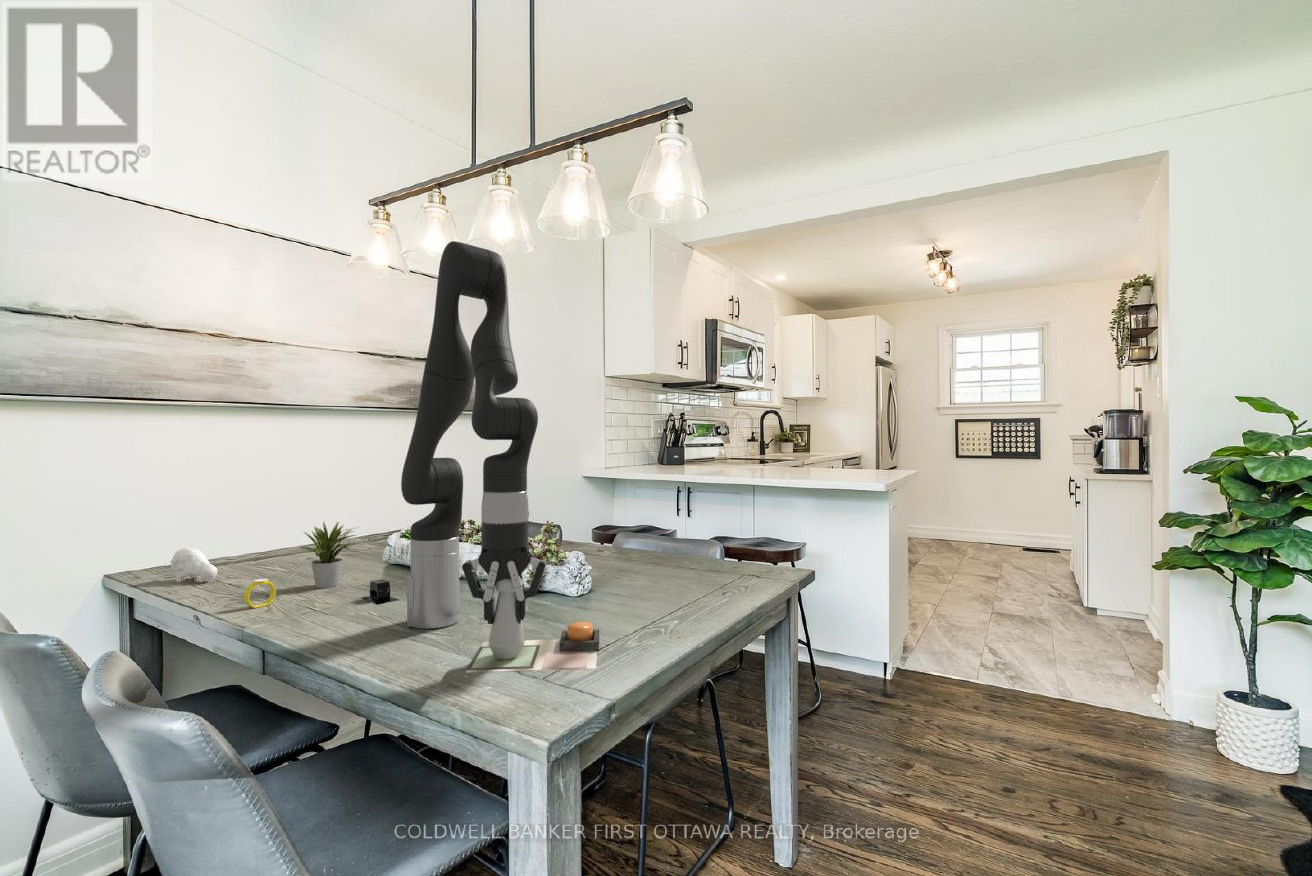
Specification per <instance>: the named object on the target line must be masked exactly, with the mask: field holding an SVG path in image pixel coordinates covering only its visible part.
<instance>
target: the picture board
mask: <svg viewBox="0 0 1312 876" xmlns="http://www.w3.org/2000/svg"><path fill="white" fill-rule="evenodd" d="M524 640H525V639H524ZM599 649H600V629H593V638H592V639H590V640H587V641H570V640H568V639H567V630H562V631H561V635H560V639H533V640H532V639H531V640H530V639H526V640H525V641H524V645H523V647H522V649H521V651H520V653H519V654H518V656H517V658H512V659H508V660H504V659H496V658H495V657H494V656H493V653H492V651H491V649H490V647H489V640H488V641H483V643H482V645H480V647H479V648H478V650H477V651H476V653H475V655H474V656H473V658H472V660H471V661H470V662H469V665H468V666H467V668H466V671H465V674H469V673H470V674H471V673H499V672H528V671H529V672H530V671H531V672H533V671H535V672H536V671H561V670H562V671H563V670H564V671H565V670H570V671H571V670H592V669H593V670H594V669H597V659H598V658H597V655H598V652H600V650H599Z"/></svg>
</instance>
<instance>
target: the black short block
mask: <svg viewBox="0 0 1312 876" xmlns="http://www.w3.org/2000/svg"><path fill="white" fill-rule="evenodd" d="M390 583H391V582H390V581H389V580H386V579H385V578H384V579H383V578H381V579H374V580H370V584H369V595H365V596H360V597H361V598H360V599H362V600H364V601H367V602H370V603H371V602H372V603H371V604H374V605H376V606H377V605H383V604H388V602H389V603H393V602H397V601H400V600H399V599H400V598H398V597H395V598H394V595H393V596H392V595H391V584H390ZM397 598H398V599H397ZM386 602H387V603H386Z"/></svg>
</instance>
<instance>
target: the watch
mask: <svg viewBox="0 0 1312 876" xmlns="http://www.w3.org/2000/svg"><path fill="white" fill-rule="evenodd" d="M265 584H267V585H268V586H269V588H270V595H269V597H268V599H267V600H266V601H265V602H264V603H259V604H257V605H253V604H252V603H251V601H250V594H251V592H252V590H253V589H254V588H255V587H256V586H258V585H265ZM276 592H277V591H276V587H275V585H274V584H273V583H272V582H270V581H269V579H267V578H258V579H253V581H252V583H250V584H249V585H248V587H247V588H246V590H245V592H244V594H243V595H244V597H243V600H244V602H245V605H247V606H248V607H250V608H252V609H257V608H261V607H266V606H270V605H271V604H272V602H273V601H274V599H275V597H276V595H277V594H276Z"/></svg>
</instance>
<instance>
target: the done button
mask: <svg viewBox="0 0 1312 876" xmlns="http://www.w3.org/2000/svg"><path fill="white" fill-rule="evenodd" d="M566 627H567V639H568V640H570V641H587V640H590V639H592V638H593V630H594V628H593V623H591V622H587V621H576V622H572V623H569V624H568V625H567V626H566Z"/></svg>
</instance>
